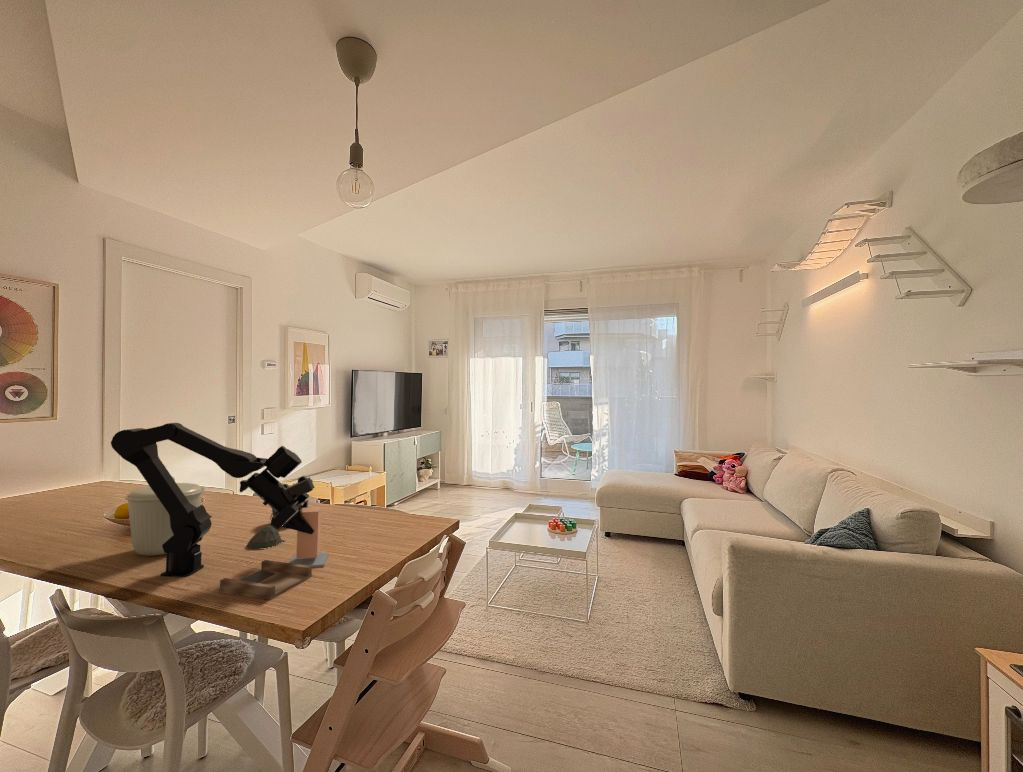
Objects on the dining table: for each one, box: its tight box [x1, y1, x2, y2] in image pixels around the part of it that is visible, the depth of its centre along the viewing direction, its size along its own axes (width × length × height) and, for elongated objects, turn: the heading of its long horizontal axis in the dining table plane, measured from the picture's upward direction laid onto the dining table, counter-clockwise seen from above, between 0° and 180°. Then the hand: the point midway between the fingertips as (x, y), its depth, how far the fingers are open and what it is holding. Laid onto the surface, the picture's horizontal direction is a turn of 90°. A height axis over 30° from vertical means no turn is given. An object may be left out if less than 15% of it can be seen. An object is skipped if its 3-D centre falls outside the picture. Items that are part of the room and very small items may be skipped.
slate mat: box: [288, 552, 330, 569], centre depth 116 cm, size 9×9×1 cm
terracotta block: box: [295, 506, 322, 558], centre depth 117 cm, size 5×5×12 cm
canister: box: [124, 476, 206, 557], centre depth 124 cm, size 18×18×21 cm
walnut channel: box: [218, 559, 313, 601], centre depth 102 cm, size 14×13×3 cm
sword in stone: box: [245, 510, 285, 550], centre depth 130 cm, size 10×8×12 cm
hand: (314, 529), depth 117 cm, fingers closed on terracotta block, 5 cm apart
